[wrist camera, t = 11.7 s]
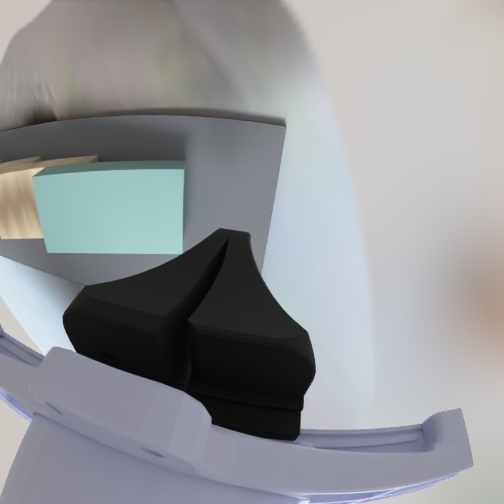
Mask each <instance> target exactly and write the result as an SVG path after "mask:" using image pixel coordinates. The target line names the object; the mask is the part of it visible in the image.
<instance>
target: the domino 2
mask: <svg viewBox="0 0 504 504" xmlns="http://www.w3.org/2000/svg"><path fill="white" fill-rule="evenodd" d="M185 164H186V161H181V160H146V161H114V162H96V163H82V164H70V165H60V166H51V167H45V168H44V169H42V170H41V171H39V172H38V173H37V174H35V175H34V176H32V182H33V189H34V195H35V201H36V206H37V211H38V216H39V220H40V225H41V229H42V233H43V237H44V241H45V245H46V249H47V252H48V253H116V254H183V239H184V187H185Z"/></svg>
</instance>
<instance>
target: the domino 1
mask: <svg viewBox="0 0 504 504" xmlns="http://www.w3.org/2000/svg"><path fill="white" fill-rule="evenodd" d="M96 162H99V159H98V155H94V156H82V157H72V158H63V159H54V160H47V161H40V162H33V163H27V164H21V165H15V166H10V167H4V168H0V236H1V239H28V238H44V237H43V233H42V229H41V225H40V220H39V216H38V211H37V206H36V201H35V195H34V189H33V182H32V176H34V175H35V174H37V173H38V172H39V171H41V170H42V169H44V168H45V167H51V166H60V165H70V164H82V163H96Z"/></svg>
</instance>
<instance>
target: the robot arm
mask: <svg viewBox="0 0 504 504" xmlns="http://www.w3.org/2000/svg"><path fill="white" fill-rule="evenodd" d="M250 240H251V235H250V233H249V232H243V231H237V230H231V229H224V228H219V229H217V230H216V231H215V232H213V233H212V234H211V235H209V236H208V237H206V238H205V239H204V240H202V241H201V242H200V243H198V244H197V245H195V246H194V247H192V248H191V249H189V250H187V251H186V252H184V253H183V254H181V255H179V256H177V257H176V258H174V259H172V260H170V261H168V262H166V263H164V264H162V265H159V266H157V267H155V268H152V269H149V270H147V271H144V272H142V273H139V274H136V275H133V276H129V277H126V278H122V279H118V280H114V281H110V282H104V283H99V284H93V285H87V286H85V287H84V288H83V289H82V291H81V292H80V293H79V294H78V295H77V297H76V298H75V299H74V300H73V302H72V303H71V304H70V305H69V307H68V308H67V309H66V311H65V312H64V315H63V325H64V328H65V331H66V333H67V335H68V337H69V339H70V341H71V343H72V345H73V347H74V349H75V351H76V352H77V353H76V352H73V351H71V350H68V349H64V348H60V347H52V348H51V349H50V350H49V351H48V353H47V354H46V356H43V355H41V354H39V353H38V352H35V351H34V350H32V349H30V348H29V347H27V346H25V345H24V344H22V343H20V342H19V341H17V340H16V339H14V338H13V337H11V336H9V335H8V334H6V333H5V332H4V331H3V328H2V327H1V325H0V399H2V400H3V401H4V402H5V403H6V404H7V405H9V406H10V407H11V408H12V409H13V410H15V411H16V412H17V413H18V414H20V415H21V416H22V417H24V418H25V419H26V420H28V421H29V422H30V423H31V424H30V426H29V428H28V430H27V432H26V434H25V436H24V438H23V440H22V443H21V445H20V447H19V449H18V452H17V454H16V457H15V459H14V461H13V464H12V466H11V469H10V471H9V474H8V477H7V480H6V482H5V485H4V488H3V491H2V494H1V497H0V504H357V503H363V502H369V501H375V500H380V499H385V498H389V497H394V496H398V495H402V494H406V493H410V492H414V491H417V490H421V489H424V488H428V487H431V486H433V485H435V484H437V483H440V482H442V481H445V480H447V479H449V478H451V477H453V476H455V475H457V474H459V473H461V472H463V471H465V470H467V469H469V468H471V467H472V466H473V459H472V454H471V449H470V444H469V439H468V434H467V430H466V426H465V422H464V418H463V414H462V411H461V409H459V408H458V409H453V410H448V411H442V412H438V413H436V414H434V415H432V416H430V417H429V418H428V419H426V420H425V421H424V422H423V424H417V425H410V426H401V427H391V428H378V429H360V430H318V429H300V422H301V411H302V410H303V406H304V395H305V393H306V392H307V390H308V388H309V387H310V385H311V383H312V381H313V380H314V376H315V373H316V365H315V358H314V353H313V348H312V344H311V341H310V338H309V335H308V332H307V331H306V330H305V329H304V328H302V327H301V326H300V325H299V324H298V323H297V322H296V321H295V320H293V319H292V318H291V317H290V316H289V315H288V314H287V313H286V312H285V311H284V310H283V308H282V307H281V306H280V304H279V303H278V302H277V301H276V299H275V298H274V297H273V295H272V294H271V292H270V291H269V289H268V287H267V286H266V284H265V282H264V280H263V278H262V276H261V274H260V272H259V270H258V267H257V265H256V262H255V259H254V256H253V252H252V248H251V241H250Z"/></svg>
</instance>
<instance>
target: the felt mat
mask: <svg viewBox="0 0 504 504" xmlns="http://www.w3.org/2000/svg"><path fill="white" fill-rule="evenodd" d="M285 131H286V126H282V125H275V124H269V123H262V122H255V121H247V120H238V119H228V118H218V117H204V116H187V115H117V116H100V117H88V118H78V119H69V120H61V121H54V122H47V123H41V124H36V125H30V126H25V127H20V128H15V129H11V130H6V131H2V132H0V159H2V160H3V163H5V162H10V161H15V160H21V159H26V158H32V157H39V156H42V161H47V160H54V159H63V158H72V157H82V156H94V155H98V159H99V162H114V161H146V160H181V161H186V164H185V187H184V239H183V253H184V252H186V251H187V250H189V249H191V248H192V247H194V246H195V245H197V244H198V243H200V242H201V241H202V240H204V239H205V238H206V237H208V236H209V235H211V234H212V233H213V232H215V231H216V230H217V229H219V228H224V229H231V230H237V231H243V232H249V233H250V235H251V240H250V241H251V248H252V252H253V256H254V259H255V262H256V265H257V267H258V270H259V272H260V274H261V271H262V265H263V260H264V254H265V249H266V243H267V237H268V232H269V226H270V220H271V214H272V209H273V203H274V197H275V191H276V185H277V179H278V173H279V167H280V161H281V155H282V149H283V143H284V137H285ZM179 255H181V254H116V253H48V252H47V249H46V245H45V241H44V238H28V239H1V236H0V256H3V257H5V258H8V259H11V260H13V261H16V262H18V263H21V264H24V265H27V266H29V267H32V268H35V269H38V270H41V271H43V272H46V273H49V274H52V275H55V276H58V277H61V278H64V279H67V280H71V281H74V282H77V283H80V284H84V285H93V284H99V283H104V282H110V281H114V280H118V279H122V278H126V277H129V276H133V275H136V274H139V273H142V272H144V271H147V270H149V269H152V268H155V267H157V266H159V265H162V264H164V263H166V262H168V261H170V260H172V259H174V258H176V257H177V256H179Z"/></svg>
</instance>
